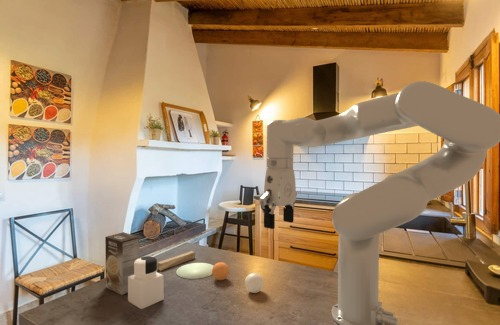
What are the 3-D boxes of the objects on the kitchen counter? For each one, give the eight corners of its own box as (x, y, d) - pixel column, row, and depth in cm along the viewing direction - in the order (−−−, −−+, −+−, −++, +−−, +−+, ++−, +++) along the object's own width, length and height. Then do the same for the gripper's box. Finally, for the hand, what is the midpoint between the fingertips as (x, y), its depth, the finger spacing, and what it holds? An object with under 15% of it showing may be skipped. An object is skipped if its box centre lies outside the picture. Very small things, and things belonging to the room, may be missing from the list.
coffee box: (104, 287, 89) (103, 236, 89) (123, 280, 94) (123, 231, 94) (121, 295, 84) (121, 241, 84) (140, 287, 89) (140, 236, 89)
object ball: (232, 279, 95) (232, 262, 95) (220, 284, 91) (220, 267, 91) (220, 274, 99) (220, 258, 99) (208, 280, 94) (208, 263, 94)
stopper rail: (195, 258, 115) (195, 251, 115) (160, 270, 102) (160, 263, 102) (191, 257, 116) (191, 250, 116) (157, 269, 103) (157, 262, 103)
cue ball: (267, 291, 86) (267, 272, 86) (255, 298, 82) (255, 279, 82) (252, 286, 90) (252, 268, 90) (241, 292, 86) (241, 274, 85)
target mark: (224, 269, 103) (224, 268, 103) (194, 282, 92) (194, 282, 92) (198, 260, 112) (198, 260, 112) (168, 271, 101) (168, 271, 101)
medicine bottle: (150, 292, 86) (150, 252, 86) (164, 299, 81) (163, 257, 81) (127, 301, 80) (127, 259, 80) (141, 310, 76) (140, 265, 76)
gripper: (273, 165, 72) (272, 233, 72) (306, 164, 85) (305, 221, 85) (250, 164, 76) (249, 228, 77) (285, 163, 90) (284, 217, 90)
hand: (279, 224), depth 81 cm, fingers open, 9 cm apart
